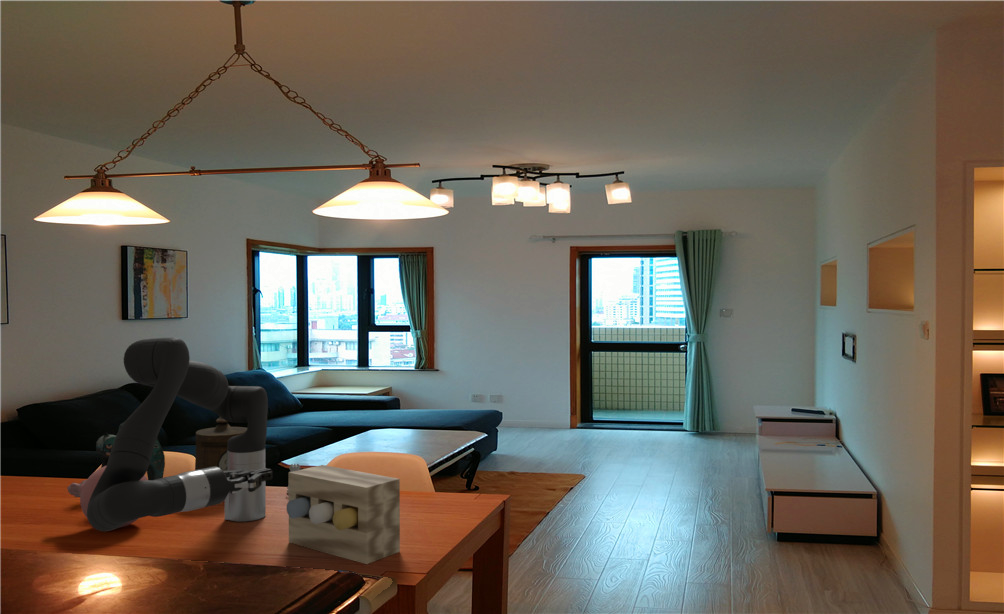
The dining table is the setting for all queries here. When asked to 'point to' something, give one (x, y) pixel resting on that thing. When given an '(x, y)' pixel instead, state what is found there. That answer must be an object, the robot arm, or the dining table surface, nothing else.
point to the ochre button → (346, 518)
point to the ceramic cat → (156, 460)
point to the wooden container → (214, 445)
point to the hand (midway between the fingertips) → (269, 473)
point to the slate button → (299, 507)
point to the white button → (322, 512)
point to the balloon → (90, 490)
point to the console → (346, 490)
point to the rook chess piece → (293, 468)
